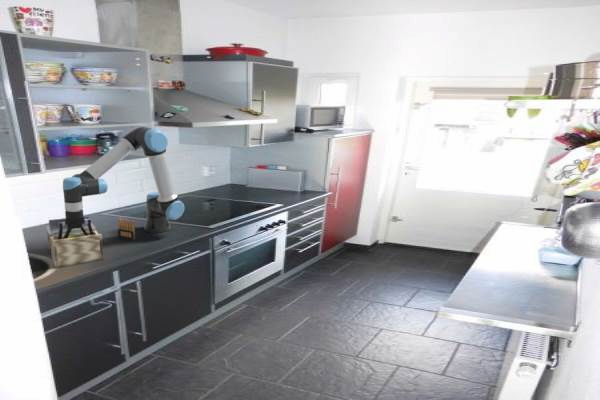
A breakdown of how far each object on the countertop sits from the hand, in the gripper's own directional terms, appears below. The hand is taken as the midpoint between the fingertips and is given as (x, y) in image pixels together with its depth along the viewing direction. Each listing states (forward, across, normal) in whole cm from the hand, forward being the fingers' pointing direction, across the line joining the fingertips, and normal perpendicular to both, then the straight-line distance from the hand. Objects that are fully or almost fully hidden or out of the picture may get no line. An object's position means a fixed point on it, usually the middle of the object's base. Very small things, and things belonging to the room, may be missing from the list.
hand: (77, 253), depth 196 cm
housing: (+3, 0, -7) cm, 7 cm away
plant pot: (+1, 0, 0) cm, 1 cm away
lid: (-9, 0, -14) cm, 17 cm away
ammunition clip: (+3, -28, -19) cm, 34 cm away
